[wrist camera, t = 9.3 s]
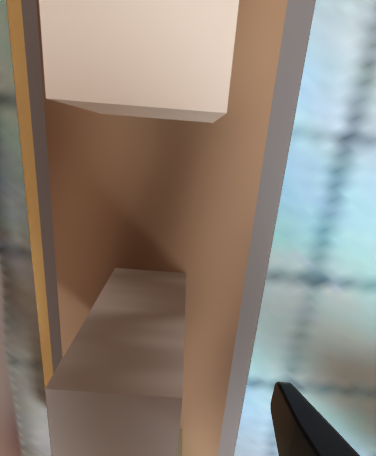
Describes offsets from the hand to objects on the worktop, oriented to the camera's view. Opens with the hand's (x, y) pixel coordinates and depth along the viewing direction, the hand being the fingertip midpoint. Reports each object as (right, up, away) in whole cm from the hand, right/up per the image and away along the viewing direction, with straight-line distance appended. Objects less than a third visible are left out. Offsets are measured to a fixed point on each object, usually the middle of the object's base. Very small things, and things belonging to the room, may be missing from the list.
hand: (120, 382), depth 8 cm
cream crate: (+1, +10, +1) cm, 10 cm away
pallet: (0, +2, +7) cm, 7 cm away
